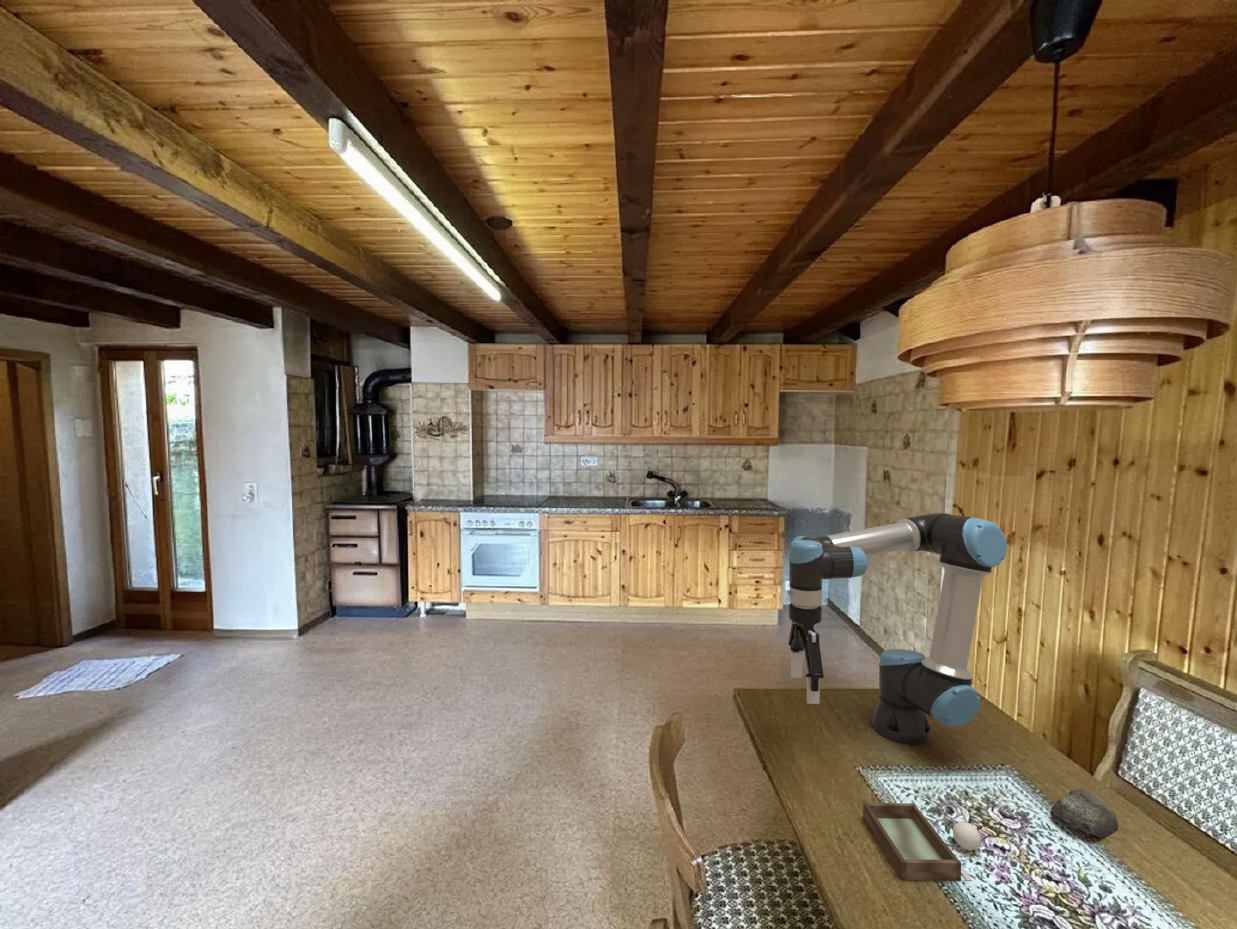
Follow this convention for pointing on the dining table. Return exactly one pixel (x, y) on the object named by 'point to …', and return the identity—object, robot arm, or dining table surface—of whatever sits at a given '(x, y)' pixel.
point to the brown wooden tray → (911, 842)
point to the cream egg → (967, 836)
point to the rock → (1086, 813)
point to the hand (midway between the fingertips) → (804, 689)
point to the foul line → (965, 875)
